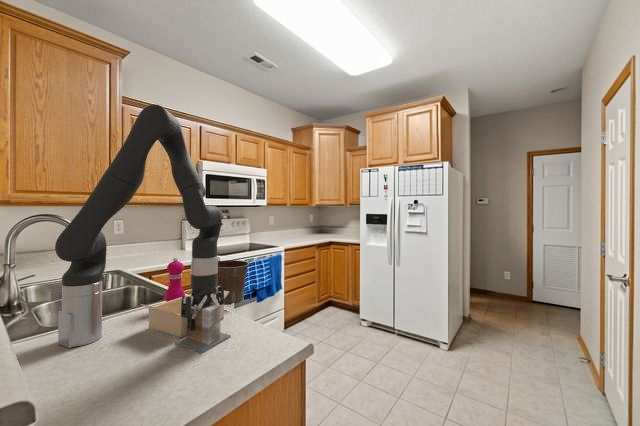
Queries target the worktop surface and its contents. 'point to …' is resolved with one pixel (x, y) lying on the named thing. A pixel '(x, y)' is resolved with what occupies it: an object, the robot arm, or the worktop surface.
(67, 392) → the worktop surface
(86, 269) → the robot arm
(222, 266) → the plant pot
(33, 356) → the worktop surface
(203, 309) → the block
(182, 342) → the plate
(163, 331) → the carton
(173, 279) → the pepper mill
